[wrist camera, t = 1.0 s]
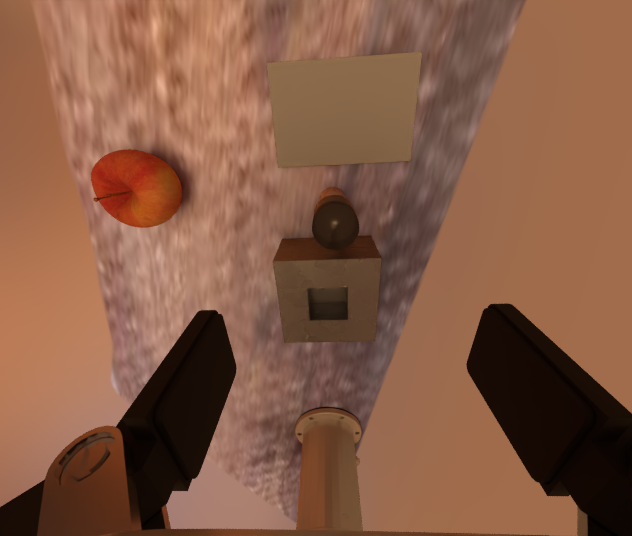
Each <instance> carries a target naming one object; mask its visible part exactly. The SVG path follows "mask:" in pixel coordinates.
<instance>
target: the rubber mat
mask: <svg viewBox="0 0 632 536" xmlns="http://www.w3.org/2000/svg"><path fill="white" fill-rule="evenodd" d="M421 56H422V52H414V53H400V54H386V55H372V56H358V57H343V58H329V59H315V60H301V61H287V62H273V63H267V71H268V80H269V89H270V98H271V107H272V116H273V125H274V135H275V144H276V153H277V162H278V168H280V167H300V166H320V165H340V164H360V163H380V162H400V161H410V156H411V147H412V138H413V129H414V120H415V111H416V102H417V93H418V84H419V74H420V65H421Z"/></svg>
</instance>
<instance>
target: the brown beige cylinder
mask: <svg viewBox="0 0 632 536" xmlns="http://www.w3.org/2000/svg"><path fill="white" fill-rule="evenodd" d="M312 232H313V235H314V238H315V239H316V241H317V242H318V243H319V244H320V245H321V246H323V247H325V248H327V249H331V250H340V249H343V248H346V247H348V246H349V245H350V244H352V243H353V242H354V240H355V239H356V237H357V235H358V232H359V222H358V219H357V216H356V214H355V211H354V209H353V206H352V204H351V203H350V201H349V200H348V199H347V198H345V196H344V193H343V192H342V191H341V190H340V189H338V188H334V187H331V188H327V189H326V190H324V191H323V192H322V194H321V196H320V200H319V202H318V204H317V205H316V207H315V210H314V217H313V224H312Z"/></svg>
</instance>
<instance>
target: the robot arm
mask: <svg viewBox="0 0 632 536" xmlns="http://www.w3.org/2000/svg"><path fill="white" fill-rule="evenodd" d="M467 370H468V372H469V374H470V376H471V378H472V380H473V381H474V383H475V384H476V386H477V388H478V390H479V391H480V393H481V394H482V396H483V397H484V399H485V401H486V403H487V405H488V406H489V408H490V409H491V411H492V413H493V414H494V416H495V418H496V419H497V421H498V423H499V424H500V426H501V428H502V429H503V431H504V433H505V434H506V436H507V438H508V439H509V441H510V443H511V444H512V446H513V448H514V449H515V451H516V453H517V454H518V456H519V458H520V459H521V461H522V463H523V464H524V466H525V468H526V469H527V471H528V473H529V474H530V476H531V477H532V478H533V479H534V480H535V481H536V482H539V483H540V485H541V486H542V488H543V489H544V491H545V492H546V494H547V496H569V495H571V497H572V498H573V500H574V501H575V503H576V504H577V506H578V521H577V527H578V528H577V530H578V531H577V535H578V536H632V414H631V413H630V412H629V411H628V410H627V409H626V408H625V407H624V406H623V405H622V404H620V403H619V402H618V401H617V400H616V399H615V398H614V397H613V396H612V395H611V394H609V393H608V392H607V391H606V390H605V389H604V388H603V387H602V386H601V385H600V384H599V383H597V382H596V381H595V380H594V379H593V378H592V377H591V376H590V375H589V374H588V373H587V372H585V371H584V370H583V369H582V368H581V367H580V366H579V365H578V364H577V363H576V362H575V361H573V360H572V359H571V358H570V357H569V356H568V355H567V354H566V353H565V352H563V351H562V350H561V349H560V348H559V347H558V346H557V345H556V344H555V343H554V342H553V341H551V340H550V339H549V338H548V337H547V336H546V335H545V334H544V333H543V332H542V331H540V330H539V329H538V328H537V327H536V326H535V325H534V324H533V323H532V322H531V321H529V320H528V319H527V318H526V317H525V316H524V315H523V314H522V313H521V312H520V311H519V310H517V309H516V308H515V307H514V306H513V305H511V304H491V305H489V306H488V308H486V309H484V311H483V313H482V316H481V319H480V322H479V326H478V329H477V332H476V335H475V338H474V341H473V345H472V348H471V351H470V354H469V357H468V361H467ZM235 375H236V363H235V359H234V356H233V352H232V348H231V345H230V341H229V337H228V334H227V330H226V327H225V323H224V319H223V316H222V315H221V314H218V312H217V311H216V310H201V311H198V312H197V314H196V315H195V316H194V318H193V319H192V321H191V322H190V323H189V325H188V326H187V328H186V329H185V330H184V332H183V333H182V335H181V336H180V338H179V339H178V340H177V342H176V343H175V345H174V346H173V347H172V349H171V350H170V352H169V353H168V354H167V356H166V357H165V358H164V360H163V361H162V363H161V364H160V366H159V367H158V368H157V370H156V371H155V373H154V374H153V375H152V377H151V378H150V380H149V381H148V382H147V384H146V385H145V387H144V388H143V389H142V391H141V392H140V394H139V395H138V396H137V398H136V399H135V401H134V402H133V403H132V405H131V406H130V408H129V409H128V410H127V412H126V413H125V415H124V416H123V418H122V419H121V420H120V422H119V423H118V425H117V426H116V427H114V426H103V427H98V428H95V429H93V430H91V431H88V432H86V433H85V434H83V435H82V436H80V437H78V438H77V439H75V440H74V441H73V442H71V443H70V444H69V445H68V446H67V447H65V449H63V450H62V452H61V453H60V454H59V455H58V456H57V457H56V458H55V460H54V461H53V463H52V464H51V466H50V468H49V469H48V472H47V475H46V478H45V480H43V481H42V482H40V483H39V484H37V485H35V486H34V487H32V488H30V489H29V490H27V491H26V492H24V493H22V494H21V495H19V496H18V497H16V498H14V499H13V500H11V501H10V502H8V503H6V504H5V505H3V506H1V507H0V536H544V535H508V534H469V533H425V532H381V531H363V527H362V517H361V507H360V498H359V497H360V496H359V486H358V476H357V465H359V463H360V460H359V458H357V457H356V455H355V444H356V443H357V442H358V441H359V439H360V438H361V434H362V433H361V425H360V423H359V421H358V420H357V419H356V417H354V416H353V415H352V414H350V413H348V412H346V411H343V410H340V409H334V408H320V409H315V410H312V411H309V412H307V413H305V414H304V415H302V416H301V417H300V418H299V419H298V421H297V423H296V428H295V434H296V437H297V439H298V440H299V441H300V442H301V443H302V456H301V470H300V484H299V498H298V512H297V527H296V530H267V529H266V530H265V529H171V527H170V522H169V518H168V512H167V508H166V504H167V502H168V500H169V497H170V495H171V493H172V491H188V489H189V486H190V483H191V481H192V479H195V478H196V477H197V476H198V474H199V472H200V470H201V467H202V464H203V462H204V459H205V456H206V454H207V451H208V448H209V446H210V443H211V440H212V437H213V435H214V432H215V429H216V427H217V424H218V421H219V418H220V416H221V413H222V410H223V408H224V405H225V402H226V400H227V397H228V394H229V391H230V389H231V386H232V383H233V381H234V378H235ZM545 536H546V535H545Z"/></svg>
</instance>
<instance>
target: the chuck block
mask: <svg viewBox="0 0 632 536" xmlns="http://www.w3.org/2000/svg"><path fill="white" fill-rule="evenodd" d="M273 266H274V273H275V280H276V287H277V294H278V301H279V308H280V316H281V323H282V330H283V337H284V343H294V342H356V341H375V338H376V325H377V311H378V298H379V284H380V271H381V256H380V254H379V252H378V250H377V248H376V245H375V243H374V241H373V239H372V237H371V236H357V237H356V239H355V240H354V242H353V243H352V244H350V245H349V246H348V247H346V248H343V249H340V250H331V249H327V248H325V247H323V246H321V245H320V244H319V243H318V242H317V241H316V239H315V238H295V239H282V241H281V243H280V246H279V248H278V250H277V253H276V255H275V258H274V260H273Z"/></svg>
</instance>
